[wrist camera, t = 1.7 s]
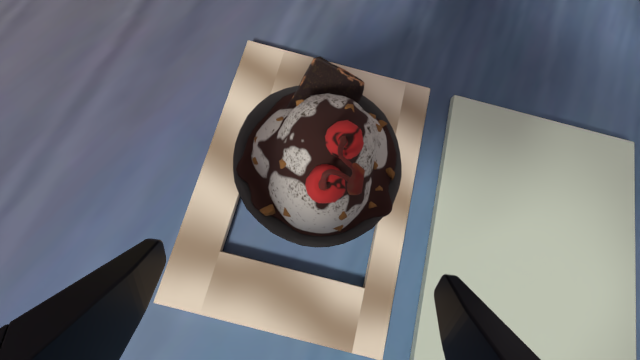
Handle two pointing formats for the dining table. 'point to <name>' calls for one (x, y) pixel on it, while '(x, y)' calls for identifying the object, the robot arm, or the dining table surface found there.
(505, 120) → the stub pad
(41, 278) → the dining table surface
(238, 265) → the wooden picture frame
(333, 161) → the sundae
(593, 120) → the dining table surface
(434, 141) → the dining table surface
